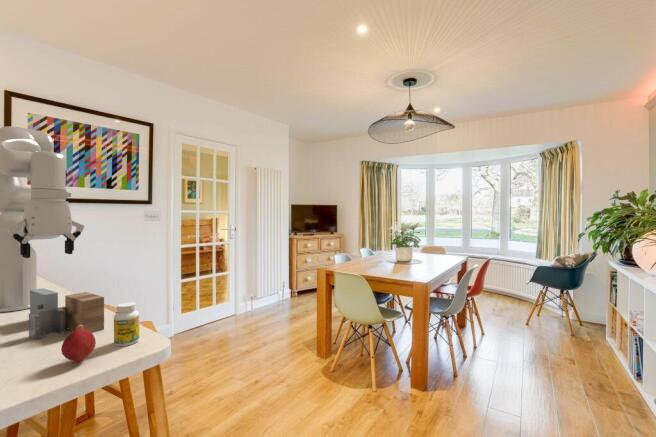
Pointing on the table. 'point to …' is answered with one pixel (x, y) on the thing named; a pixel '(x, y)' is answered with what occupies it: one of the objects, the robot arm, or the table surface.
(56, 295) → the pale blue tall prism
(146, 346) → the table surface
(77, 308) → the brown tall rectangular block
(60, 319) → the gray wooden bench
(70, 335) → the onion
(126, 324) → the supplement bottle
